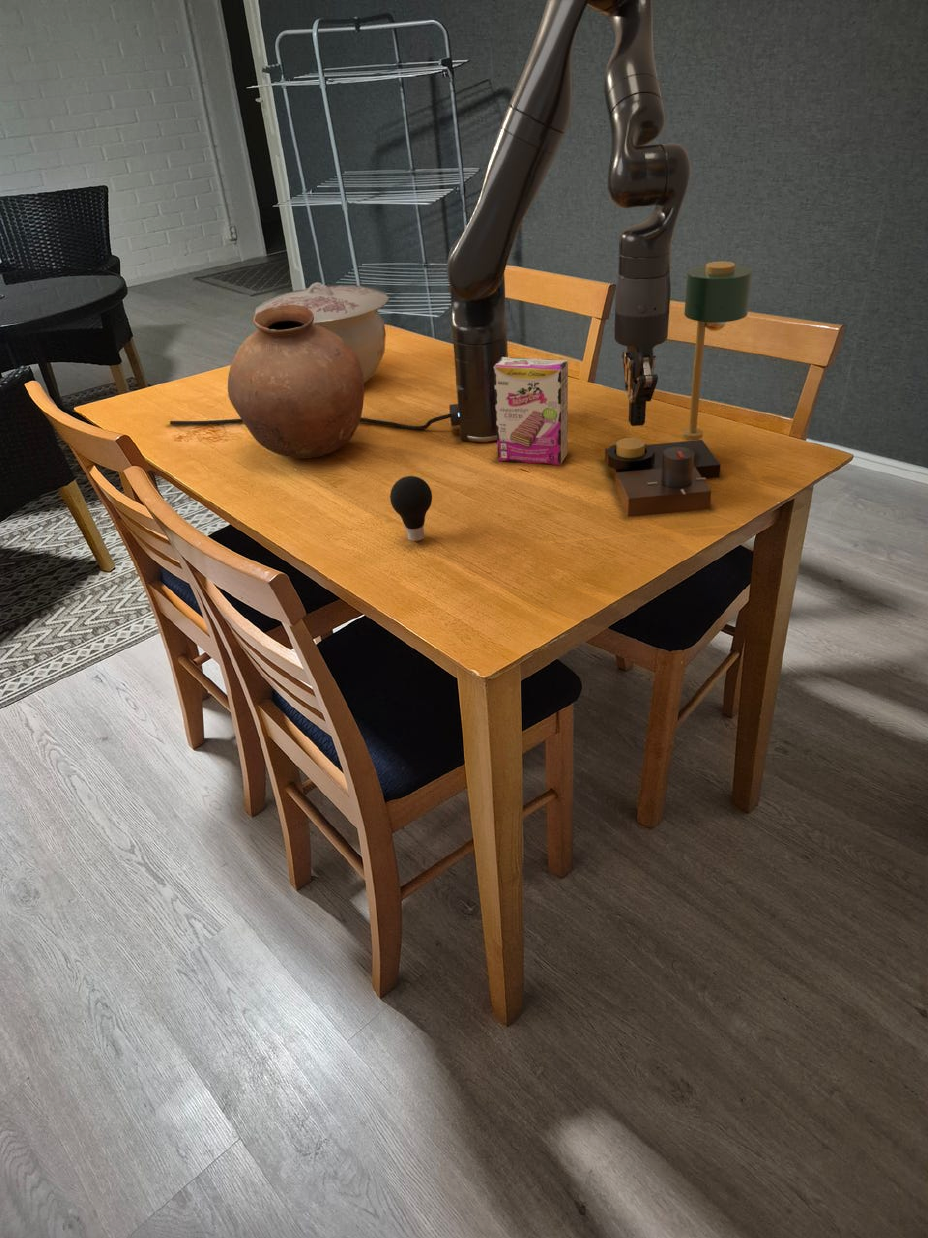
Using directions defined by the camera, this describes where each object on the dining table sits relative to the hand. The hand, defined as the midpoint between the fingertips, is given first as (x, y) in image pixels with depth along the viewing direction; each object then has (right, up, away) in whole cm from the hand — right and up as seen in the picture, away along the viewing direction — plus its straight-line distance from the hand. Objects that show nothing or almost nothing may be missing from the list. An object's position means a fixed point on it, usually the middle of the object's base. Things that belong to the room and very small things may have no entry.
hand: (636, 423), depth 129 cm
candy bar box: (-15, -3, +14) cm, 20 cm away
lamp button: (0, -4, +4) cm, 6 cm away
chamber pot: (-54, +21, +54) cm, 80 cm away
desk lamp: (+12, 0, +7) cm, 14 cm away
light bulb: (-33, -19, -7) cm, 39 cm away
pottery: (-54, 0, +24) cm, 59 cm away
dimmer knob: (+5, -9, -4) cm, 11 cm away
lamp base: (+5, -6, +7) cm, 10 cm away
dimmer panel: (+3, -12, -2) cm, 12 cm away
